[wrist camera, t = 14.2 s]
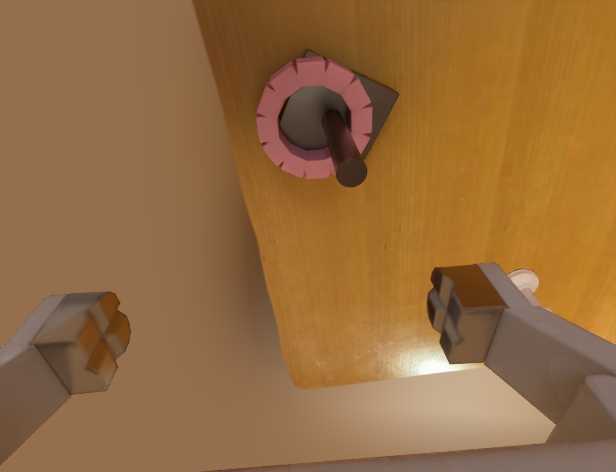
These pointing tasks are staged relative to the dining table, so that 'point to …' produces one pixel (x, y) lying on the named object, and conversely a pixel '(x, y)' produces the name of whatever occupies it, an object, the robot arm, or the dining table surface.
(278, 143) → the ring
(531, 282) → the chess piece
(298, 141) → the stand
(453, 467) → the robot arm
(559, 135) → the dining table surface
